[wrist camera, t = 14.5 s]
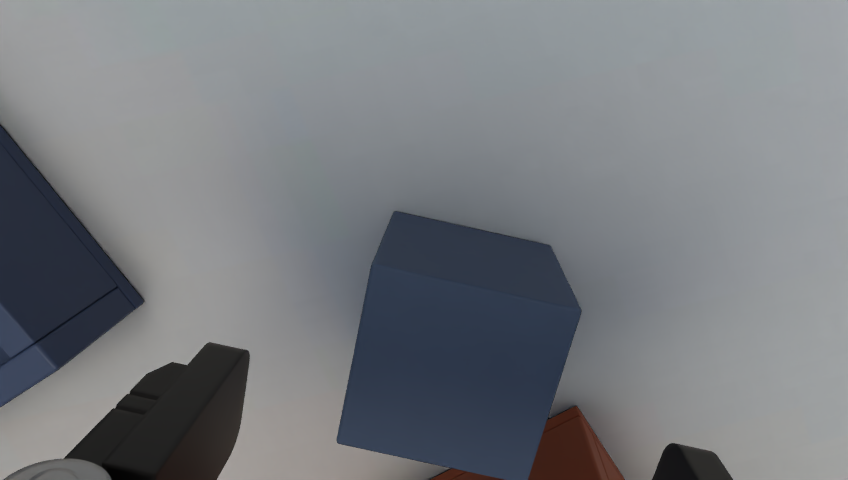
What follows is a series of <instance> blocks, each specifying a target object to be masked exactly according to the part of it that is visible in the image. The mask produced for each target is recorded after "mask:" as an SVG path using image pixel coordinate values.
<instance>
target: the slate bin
mask: <svg viewBox="0 0 848 480" xmlns="http://www.w3.org/2000/svg"><path fill="white" fill-rule="evenodd" d="M143 302H144V301H143V299H142V298H141V297H140V296H139V295H138V293H137V292H136V291H135V290H134V288H133V287H132V286H131V285H130V283H129V282H128V281H127V280H126V279H125V277H124V276H123V275H122V274H121V272H120V271H119V270H118V269H117V268H116V266H115V265H114V264H113V263H112V261H111V260H110V259H109V258H108V257H107V255H106V254H105V253H104V252H103V250H102V249H101V248H100V247H99V246H98V244H97V243H96V242H95V241H94V239H93V238H92V237H91V236H90V235H89V233H88V232H87V231H86V230H85V228H84V227H83V226H82V225H81V223H80V222H79V221H78V220H77V219H76V217H75V216H74V215H73V214H72V212H71V211H70V210H69V209H68V208H67V206H66V205H65V204H64V203H63V201H62V200H61V199H60V198H59V197H58V195H57V194H56V193H55V192H54V190H53V189H52V188H51V187H50V186H49V184H48V183H47V182H46V181H45V179H44V178H43V177H42V176H41V175H40V173H39V172H38V171H37V170H36V168H35V167H34V166H33V165H32V163H31V162H30V161H29V160H28V159H27V157H26V156H25V155H24V154H23V152H22V151H21V150H20V149H19V148H18V146H17V145H16V144H15V143H14V141H13V140H12V139H11V138H10V137H9V135H8V134H7V133H6V132H5V130H4V129H3V128H2V127H1V126H0V407H2V406H3V405H5V404H6V403H8V402H9V401H11V400H12V399H14V398H16V397H17V396H19V395H20V394H22V393H23V392H25V391H26V390H28V389H29V388H31V387H33V386H34V385H36V384H37V383H39V382H40V381H42V380H43V379H45V378H46V377H48V376H50V375H51V374H53V373H54V372H56V371H57V370H59V369H60V368H61V367H63V366H64V365H65V364H66V363H68V362H69V361H70V360H71V359H73V358H74V357H75V356H77V355H78V354H79V353H80V352H82V351H83V350H84V349H85V348H87V347H88V346H89V345H91V344H92V343H93V342H94V341H96V340H97V339H98V338H99V337H101V336H102V335H103V334H105V333H106V332H107V331H108V330H110V329H111V328H112V327H113V326H115V325H116V324H117V323H119V322H120V321H121V320H122V319H124V318H125V317H126V316H127V315H129V314H130V313H131V312H133V310H135V309H136V308H138V307H139V306H140V305H142V304H143Z"/></svg>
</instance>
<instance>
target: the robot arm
mask: <svg viewBox="0 0 848 480" xmlns="http://www.w3.org/2000/svg"><path fill="white" fill-rule="evenodd" d="M249 359H250V355H249V351H248V350H243V349H239V348H234V347H229V346H225V345H220V344H216V343H211V342H209V343H207V344H206V345H205V346H204V347H203V348H202V349H201V350H200V352H199V353H198V354H197V355H196V356H195V357H194V358H193V359H192V361H191V362H190V363H189V364H188V365H183V364H179V363H174V362H171V363H169V364H167V365H165V366H163V367H161V368H159V369H156V370H154V371H152V372H150V373H148V374H146V375H145V376H144V377H143V378H142V379H141V380H140V382H139V383H138V384H137V385H136V386H135V387H134V388H133V389H132V390H131V391H130V394H127V395H126V396H125V397H124V398H123V399H122V400H121V401H120V402H119V403H118V404H117V406H116V408H115V409H114V408H113V409H112V410H111V411H110V412H109V413H108V414H107V415H106V416H105V417H104V418H103V419H102V420H101V421H100V422H99V423H98V424H97V425H96V426H95V427H94V428H93V429H92V430H91V431H90V432H89V433H88V434H87V435H86V436H85V437H84V438H83V439H82V440H81V441H80V442H79V443H78V444H77V445H76V446H75V448H74V449H73V450H72V451H71V452H70V453H69V454H68V455H67V456H66V457H65V458H64V459H54V460H47V461H43V462H39V463H35V464H32V465H29V466H27V467H24V468H22V469H20V470H18V471H16V472H14V473H12V474H11V475H9V476H8V477H6V478H5V479H4V480H217V478H218V476H219V474H220V473H221V471H222V469H223V467H224V466H225V464H226V462H227V460H228V459H229V457H230V455H231V453H232V450H233V448H234V445H235V442H236V439H237V436H238V433H239V429H240V424H241V418H242V411H243V403H244V396H245V389H246V382H247V375H248V368H249ZM652 480H733V479H732V477H731V476H730V474H729V473H728V471H727V470H726V468H725V467H724V465H723V464H722V462H721V461H720V459H719V458H718V456H717V455H716V454H715V453H714V452H712V451H708V450H703V449H698V448H694V447H689V446H684V445H680V444H675V443H671V444H669V445H668V446H667V447H666V448H665V449H664V451H663V453H662V456H661V458H660V461H659V463H658V466H657V469H656V471H655V474H654V476H653V479H652Z"/></svg>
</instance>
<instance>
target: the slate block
mask: <svg viewBox="0 0 848 480" xmlns="http://www.w3.org/2000/svg"><path fill="white" fill-rule="evenodd" d="M581 312H582V311H581V308H580V306H579V304H578V302H577V300H576V298H575V295H574V293H573V291H572V289H571V287H570V285H569V283H568V281H567V279H566V277H565V275H564V273H563V271H562V268H561V266H560V264H559V262H558V260H557V258H556V256H555V254H554V252H553V250H552V248H551V246H550V245H546V244H541V243H537V242H532V241H528V240H523V239H519V238H514V237H510V236H505V235H501V234H496V233H492V232H487V231H483V230H478V229H474V228H469V227H465V226H460V225H456V224H451V223H446V222H442V221H437V220H433V219H428V218H424V217H419V216H415V215H410V214H406V213H401V212H397V211H395V212H393V214H392V217H391V219H390V222H389V224H388V226H387V229H386V231H385V234H384V236H383V238H382V241H381V243H380V246H379V248H378V250H377V253H376V255H375V258H374V260H373V262H372V265H371V269H370V274H369V279H368V284H367V289H366V294H365V299H364V304H363V309H362V314H361V319H360V324H359V329H358V334H357V339H356V344H355V349H354V355H353V360H352V365H351V370H350V375H349V380H348V385H347V390H346V395H345V400H344V405H343V410H342V415H341V420H340V425H339V430H338V435H337V443H338V444H342V445H347V446H352V447H356V448H361V449H366V450H370V451H375V452H379V453H384V454H389V455H393V456H398V457H402V458H407V459H412V460H416V461H421V462H425V463H430V464H435V465H439V466H444V467H449V468H453V469H458V470H462V471H467V472H472V473H476V474H481V475H485V476H490V477H495V478H499V479H504V480H528V478H529V475H530V472H531V469H532V465H533V462H534V459H535V456H536V453H537V450H538V447H539V444H540V440H541V437H542V434H543V431H544V428H545V425H546V422H547V418H548V415H549V412H550V409H551V406H552V403H553V400H554V397H555V393H556V390H557V387H558V384H559V381H560V378H561V375H562V372H563V368H564V365H565V362H566V359H567V356H568V353H569V350H570V347H571V343H572V340H573V337H574V334H575V331H576V328H577V325H578V322H579V318H580V315H581Z"/></svg>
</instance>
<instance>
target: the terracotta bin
mask: <svg viewBox="0 0 848 480" xmlns="http://www.w3.org/2000/svg"><path fill="white" fill-rule="evenodd" d="M430 480H504V479H499V478H495V477H490V476H485V475H481V474H476V473H472V472H467V471H462V470H458V469H453V468H452V469H450V470H448V471H446V472H444V473H442V474H440V475H438V476H436V477H434V478H432V479H430ZM528 480H625V479H624V478H623V476H622V475H621V473H620V471H619V470H618V468H617V467H616V465H615V464H614V462H613V461H612V459H611V458H610V456H609V455H608V453H607V451H606V450H605V448H604V447H603V445H602V444H601V442H600V441H599V439H598V438H597V436H596V435H595V433H594V431H593V430H592V428H591V427H590V425H589V424H588V422H587V421H586V419H585V418H584V416H583V414H582V413H581V411H580V410H579V408H578V407H577V406H575V407H573V408H571V409H569V410H567V411H565V412H563V413H561V414H559V415H557V416H555V417H553V418H551V419H549V420H547V422H546V425H545V428H544V431H543V434H542V437H541V440H540V444H539V447H538V450H537V453H536V456H535V459H534V462H533V465H532V469H531V472H530V475H529V478H528Z"/></svg>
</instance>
